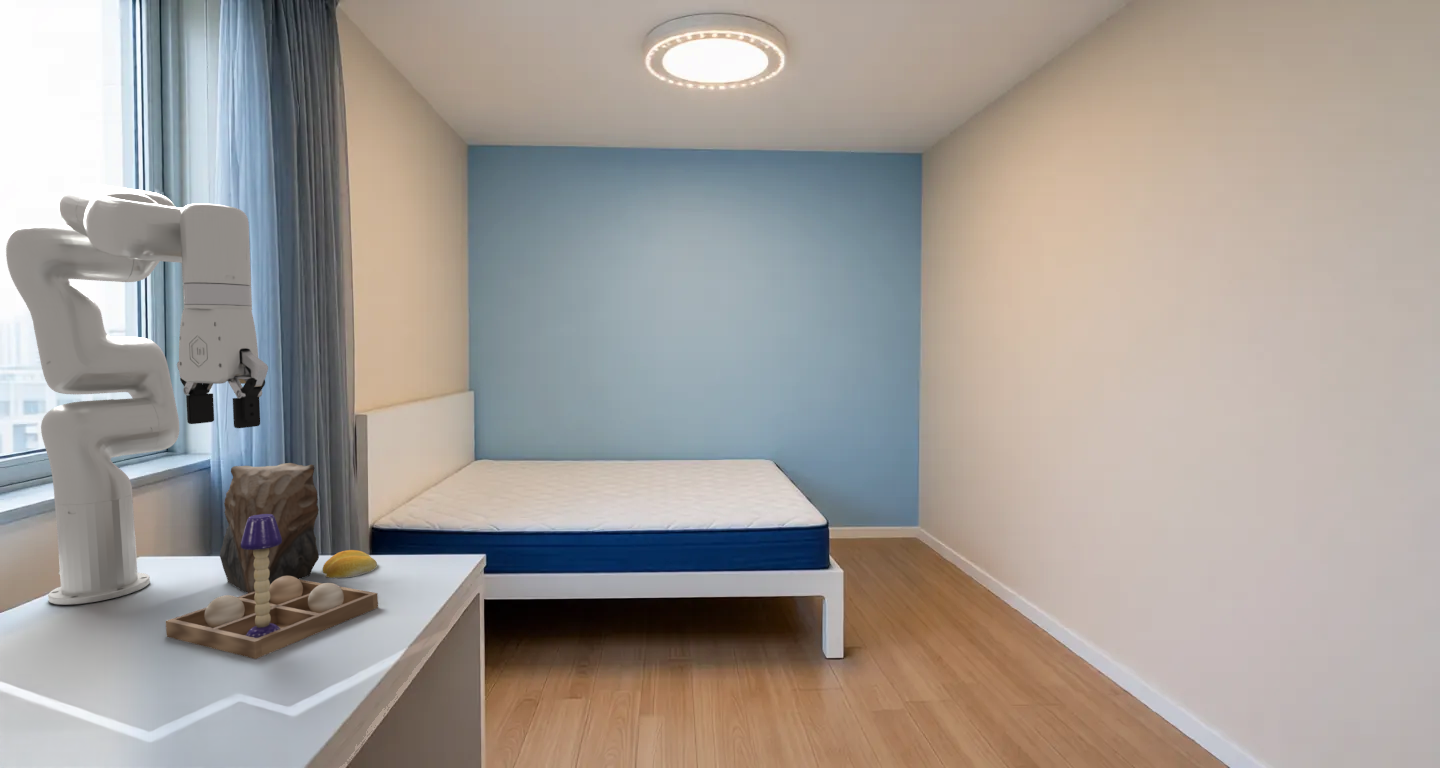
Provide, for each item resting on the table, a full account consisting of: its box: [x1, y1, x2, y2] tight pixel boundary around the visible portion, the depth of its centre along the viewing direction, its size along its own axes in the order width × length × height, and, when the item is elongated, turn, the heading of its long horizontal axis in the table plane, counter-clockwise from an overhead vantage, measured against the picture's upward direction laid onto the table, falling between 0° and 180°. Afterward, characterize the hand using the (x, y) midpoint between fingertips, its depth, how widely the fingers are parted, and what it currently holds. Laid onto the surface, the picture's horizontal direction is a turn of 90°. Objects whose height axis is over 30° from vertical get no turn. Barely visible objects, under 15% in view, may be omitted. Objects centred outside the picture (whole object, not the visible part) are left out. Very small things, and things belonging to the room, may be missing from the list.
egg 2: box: [268, 576, 303, 605], centre depth 106 cm, size 5×5×5 cm
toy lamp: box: [241, 514, 282, 638], centre depth 95 cm, size 5×5×17 cm
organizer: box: [165, 579, 379, 660], centre depth 101 cm, size 18×18×3 cm
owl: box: [219, 462, 320, 594], centre depth 120 cm, size 13×13×20 cm
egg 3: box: [308, 582, 344, 613], centre depth 103 cm, size 5×5×5 cm
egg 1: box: [204, 594, 245, 628], centre depth 98 cm, size 5×5×5 cm
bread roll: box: [322, 549, 378, 579], centre depth 124 cm, size 8×9×4 cm
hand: (223, 424), depth 96 cm, fingers open, 9 cm apart
